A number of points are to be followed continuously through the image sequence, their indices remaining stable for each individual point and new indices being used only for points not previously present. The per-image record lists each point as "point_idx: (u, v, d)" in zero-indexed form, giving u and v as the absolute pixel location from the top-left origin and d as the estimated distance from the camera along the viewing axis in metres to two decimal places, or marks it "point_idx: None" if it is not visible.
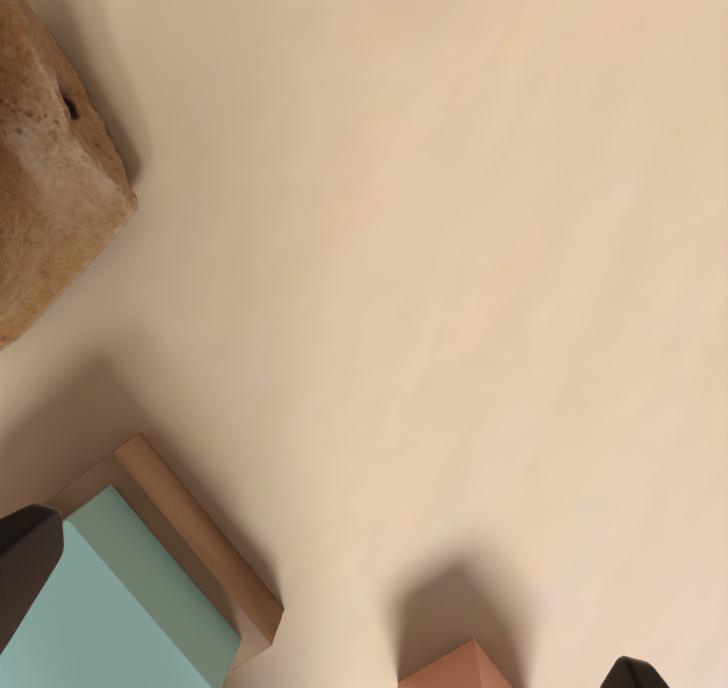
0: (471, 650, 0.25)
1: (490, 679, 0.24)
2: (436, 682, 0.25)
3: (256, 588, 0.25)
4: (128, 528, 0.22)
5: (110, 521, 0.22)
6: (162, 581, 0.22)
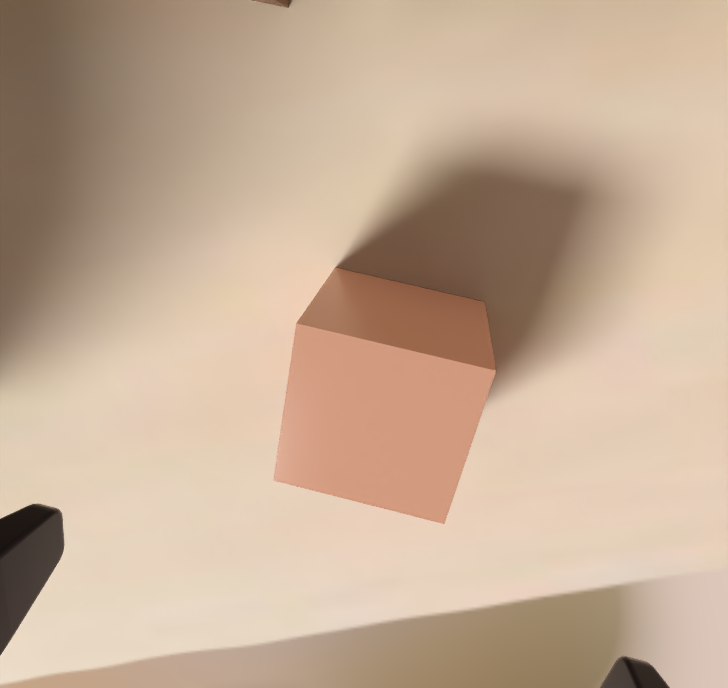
0: (478, 307, 0.15)
1: None
2: (406, 299, 0.15)
3: None
4: None
5: None
6: None
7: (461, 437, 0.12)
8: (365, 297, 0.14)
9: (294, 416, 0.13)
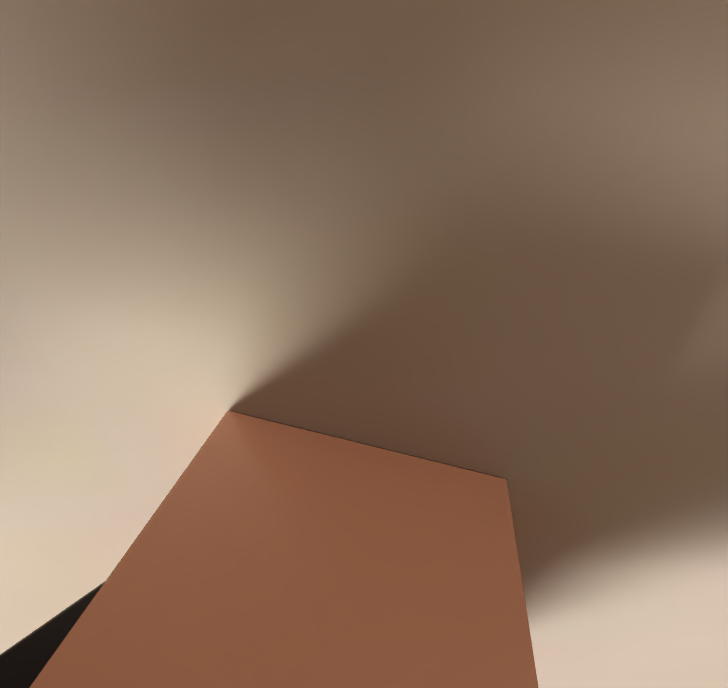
0: (496, 506, 0.08)
1: None
2: (350, 504, 0.07)
3: None
4: None
5: None
6: None
7: None
8: (262, 512, 0.07)
9: None
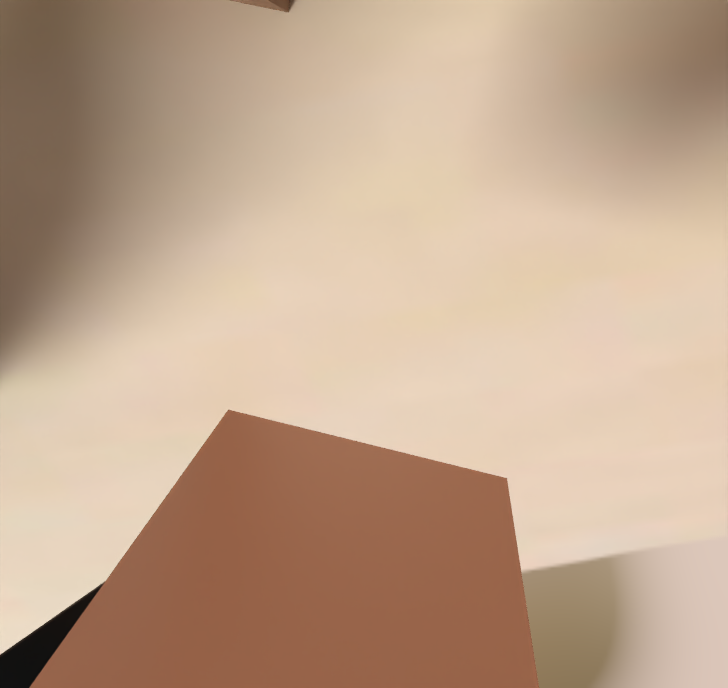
0: (497, 506, 0.08)
1: None
2: (351, 503, 0.07)
3: None
4: None
5: None
6: None
7: None
8: (264, 510, 0.07)
9: None
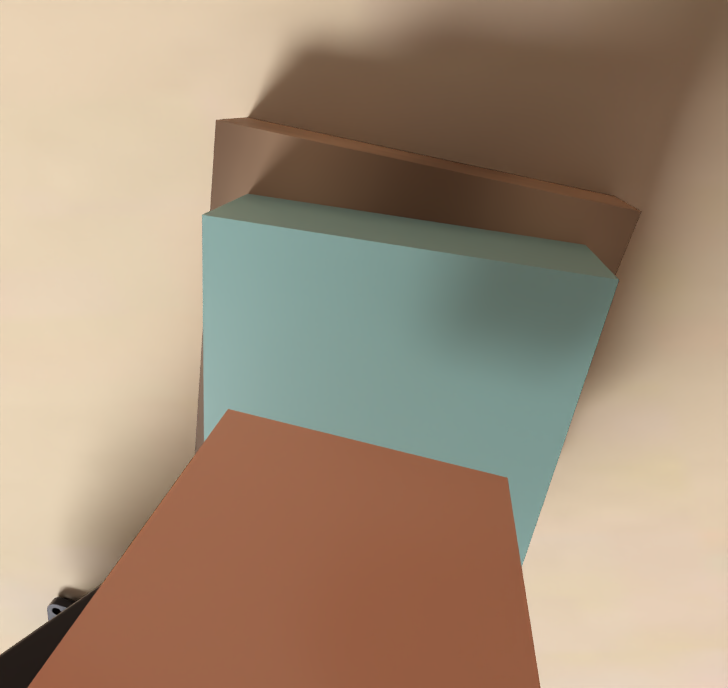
0: (497, 505, 0.08)
1: None
2: (351, 502, 0.07)
3: None
4: None
5: None
6: None
7: None
8: (263, 509, 0.07)
9: None
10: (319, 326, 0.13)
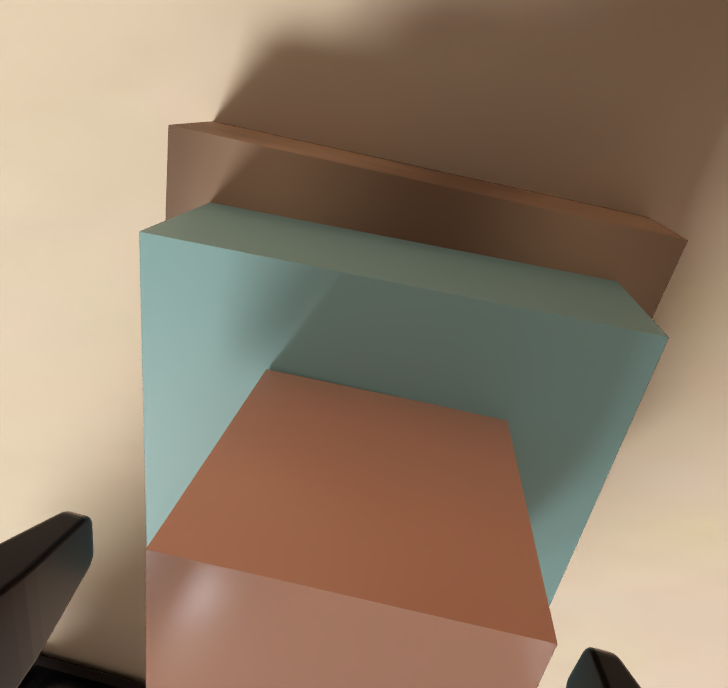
0: (499, 439, 0.09)
1: None
2: (377, 436, 0.09)
3: None
4: None
5: None
6: None
7: None
8: (306, 440, 0.08)
9: None
10: None
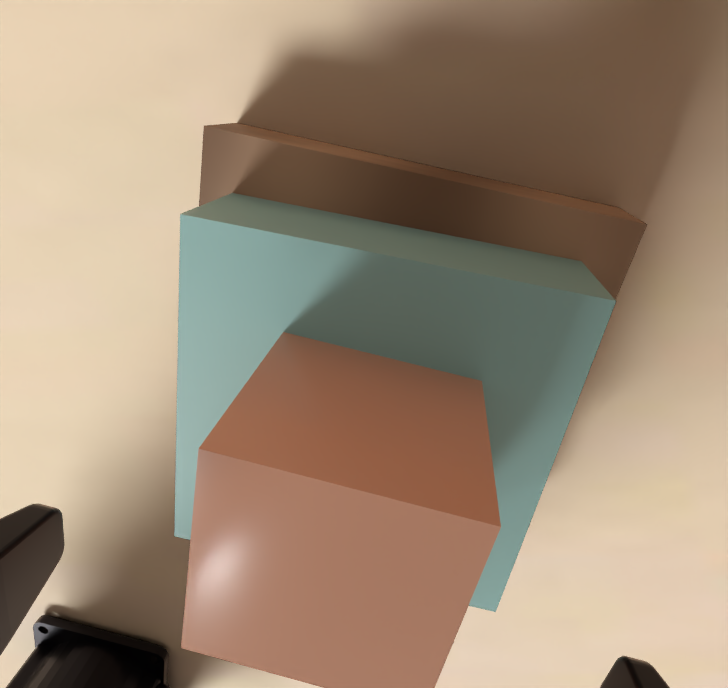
0: (474, 394, 0.11)
1: None
2: (374, 385, 0.11)
3: None
4: None
5: None
6: None
7: (447, 610, 0.08)
8: (316, 385, 0.10)
9: (204, 571, 0.09)
10: None
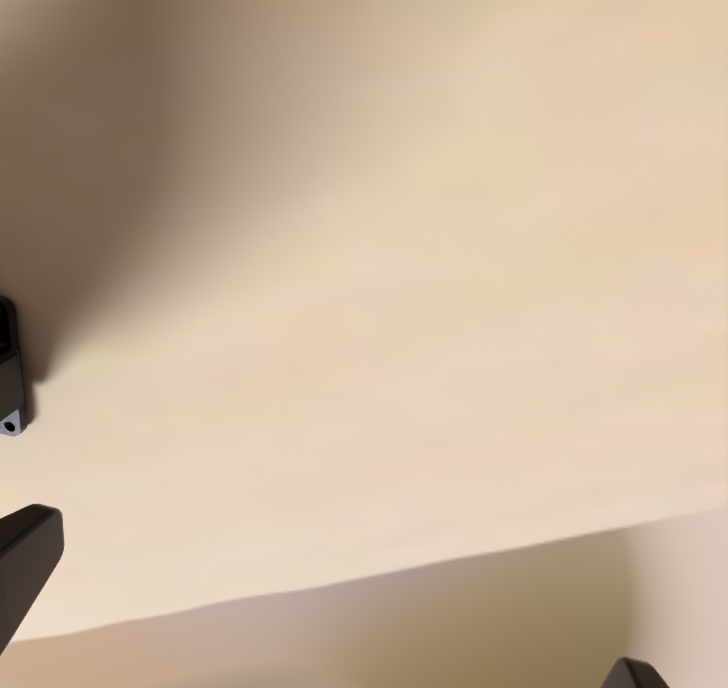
0: None
1: None
2: None
3: None
4: None
5: None
6: None
7: None
8: None
9: None
10: None
